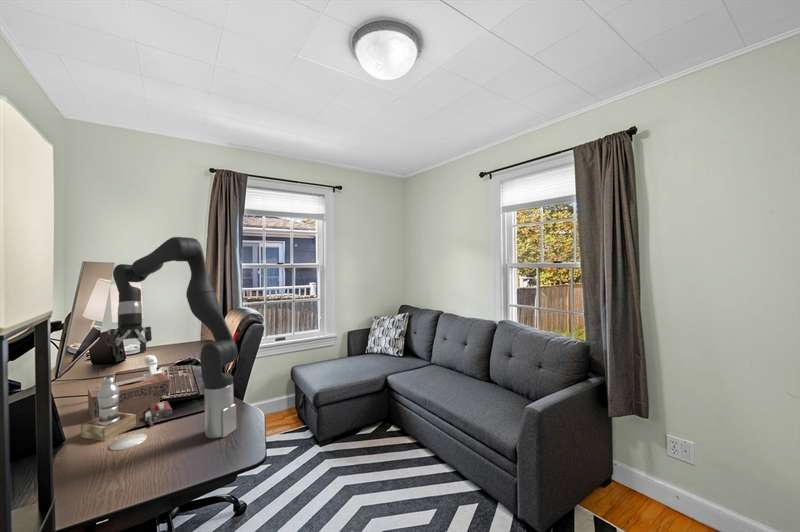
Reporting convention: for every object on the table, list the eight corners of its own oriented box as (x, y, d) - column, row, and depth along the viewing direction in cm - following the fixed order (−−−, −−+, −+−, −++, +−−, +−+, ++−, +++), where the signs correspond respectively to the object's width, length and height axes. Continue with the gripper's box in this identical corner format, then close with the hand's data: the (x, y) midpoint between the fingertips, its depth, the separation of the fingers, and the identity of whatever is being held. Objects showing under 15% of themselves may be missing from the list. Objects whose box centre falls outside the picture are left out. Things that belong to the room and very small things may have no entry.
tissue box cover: (161, 393, 158) (161, 372, 158) (169, 401, 149) (169, 379, 149) (88, 411, 139) (87, 388, 139) (92, 422, 129) (91, 397, 129)
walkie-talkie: (142, 412, 138) (148, 429, 123) (142, 402, 138) (147, 418, 123) (167, 406, 144) (176, 421, 129) (167, 396, 144) (175, 410, 129)
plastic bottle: (94, 437, 117) (92, 382, 117) (102, 429, 123) (100, 376, 123) (116, 433, 120) (115, 379, 119) (123, 425, 126) (122, 373, 126)
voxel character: (149, 382, 158) (143, 354, 163) (143, 392, 164) (138, 365, 169) (166, 378, 163) (160, 351, 169) (160, 388, 169) (154, 361, 175)
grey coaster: (153, 436, 117) (153, 435, 117) (124, 452, 108) (124, 451, 108) (132, 433, 120) (132, 432, 120) (101, 448, 110) (101, 447, 110)
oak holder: (136, 426, 125) (135, 414, 125) (104, 441, 115) (104, 428, 115) (113, 423, 128) (113, 411, 128) (81, 437, 118) (80, 424, 118)
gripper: (113, 312, 124) (113, 356, 122) (155, 311, 137) (155, 351, 134) (103, 315, 127) (102, 358, 125) (144, 313, 140) (144, 352, 137)
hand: (130, 354), depth 130 cm, fingers open, 8 cm apart
